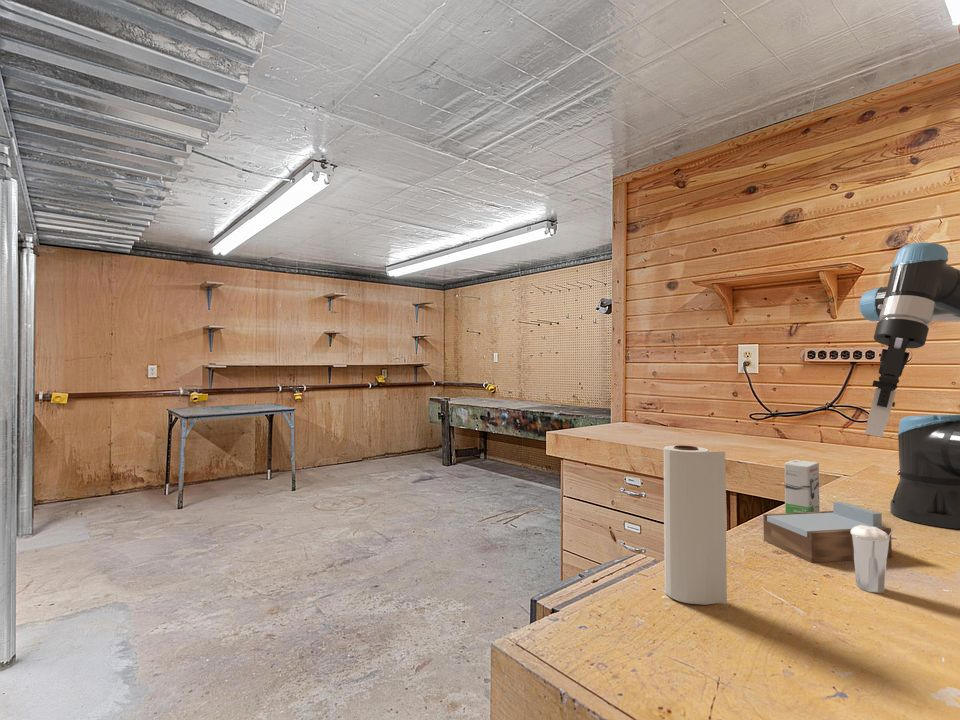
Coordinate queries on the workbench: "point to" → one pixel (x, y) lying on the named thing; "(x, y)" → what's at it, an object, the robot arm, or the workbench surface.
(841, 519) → the lid
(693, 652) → the workbench surface
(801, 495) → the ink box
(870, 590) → the milkshake
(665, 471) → the paper towel roll
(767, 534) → the case
